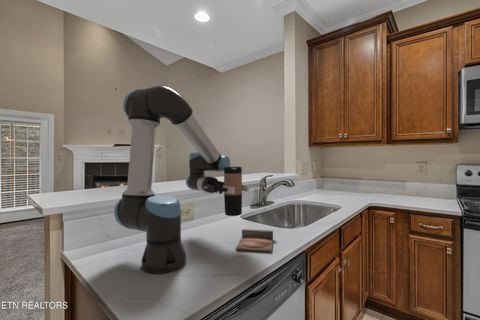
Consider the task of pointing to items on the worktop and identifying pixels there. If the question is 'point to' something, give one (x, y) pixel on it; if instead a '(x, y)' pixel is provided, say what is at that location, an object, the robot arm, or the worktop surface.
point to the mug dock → (256, 241)
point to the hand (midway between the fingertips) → (241, 189)
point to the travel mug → (234, 200)
